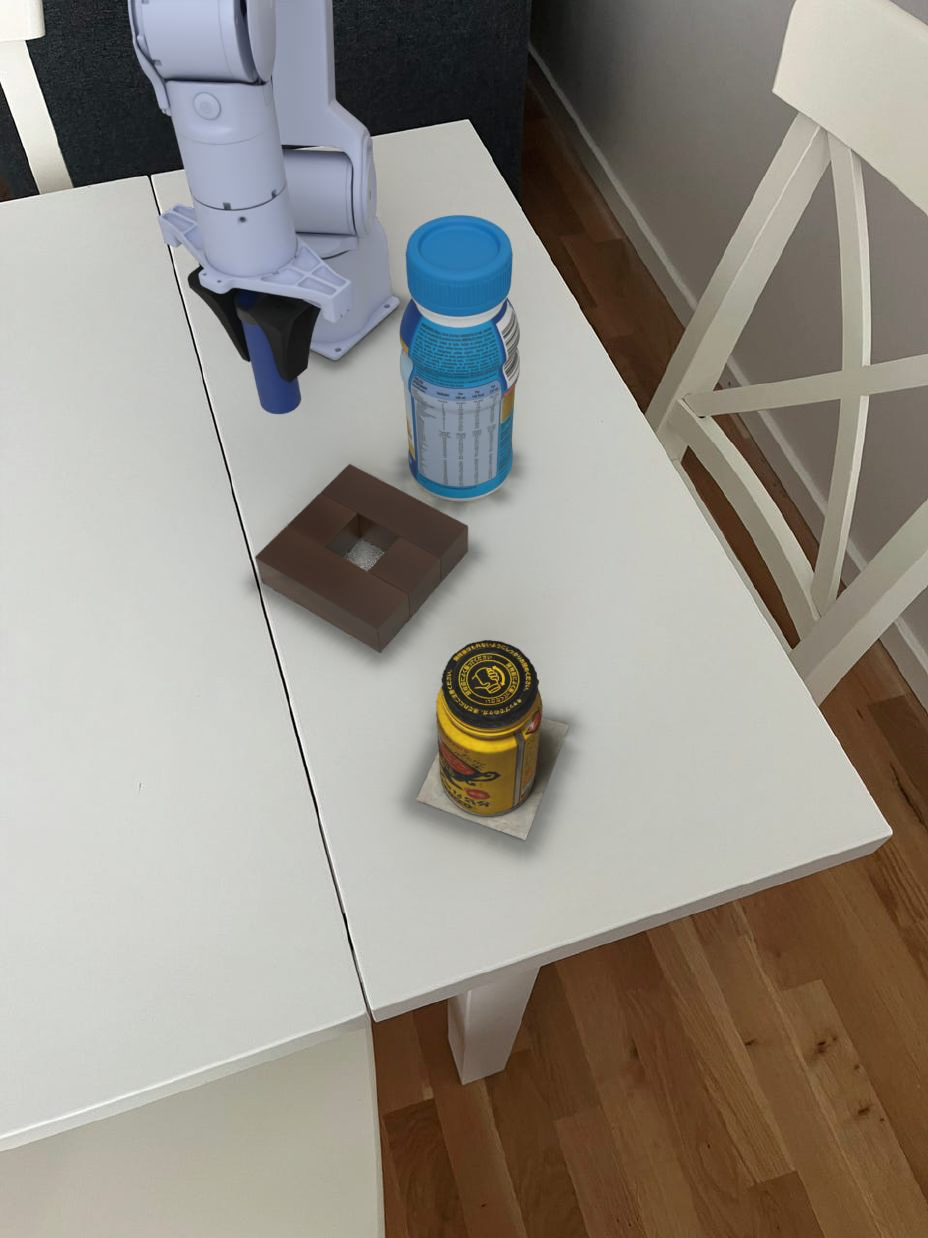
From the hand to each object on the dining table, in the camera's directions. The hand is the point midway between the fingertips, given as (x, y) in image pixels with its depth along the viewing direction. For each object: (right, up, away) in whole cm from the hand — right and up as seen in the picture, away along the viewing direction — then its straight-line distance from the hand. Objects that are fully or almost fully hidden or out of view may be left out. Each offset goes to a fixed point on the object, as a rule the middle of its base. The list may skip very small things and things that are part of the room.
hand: (274, 362), depth 69 cm
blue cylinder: (0, -2, +3) cm, 3 cm away
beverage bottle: (+13, -6, +9) cm, 17 cm away
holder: (+6, -14, +3) cm, 16 cm away
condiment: (+15, -27, -6) cm, 32 cm away
